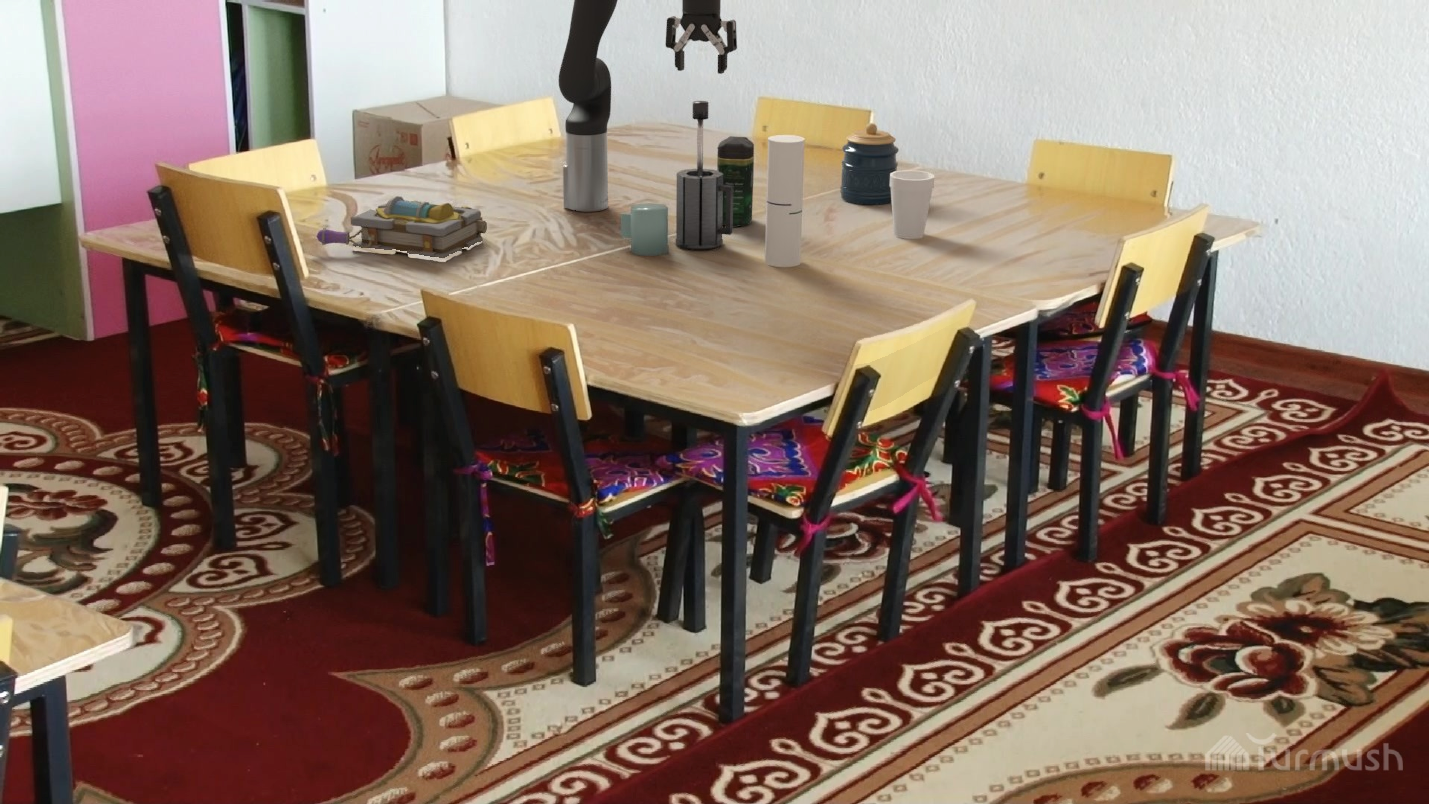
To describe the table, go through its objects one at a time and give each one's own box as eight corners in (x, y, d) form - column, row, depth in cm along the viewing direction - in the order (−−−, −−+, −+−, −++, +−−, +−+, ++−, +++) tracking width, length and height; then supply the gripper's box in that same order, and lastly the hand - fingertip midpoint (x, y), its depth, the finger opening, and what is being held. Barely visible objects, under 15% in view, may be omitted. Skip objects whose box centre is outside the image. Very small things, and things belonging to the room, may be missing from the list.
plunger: (687, 189, 322) (687, 103, 316) (693, 185, 326) (694, 99, 319) (705, 191, 321) (706, 104, 315) (712, 186, 325) (713, 101, 318)
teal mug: (615, 252, 322) (614, 209, 318) (629, 243, 328) (628, 200, 325) (659, 257, 319) (659, 214, 315) (673, 247, 325) (673, 205, 322)
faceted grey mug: (668, 248, 325) (668, 176, 320) (685, 236, 334) (685, 166, 328) (723, 254, 321) (724, 181, 316) (738, 242, 330) (739, 171, 325)
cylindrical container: (763, 257, 319) (766, 134, 310) (798, 257, 320) (802, 134, 311) (767, 267, 313) (770, 142, 304) (802, 266, 313) (807, 142, 304)
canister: (905, 197, 369) (909, 122, 362) (880, 208, 358) (884, 131, 352) (856, 189, 375) (859, 115, 369) (829, 200, 365) (833, 124, 358)
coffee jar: (750, 228, 340) (752, 143, 334) (713, 227, 341) (715, 142, 334) (754, 217, 349) (756, 134, 343) (718, 216, 350) (720, 133, 343)
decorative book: (383, 229, 339) (380, 181, 335) (492, 241, 330) (490, 191, 326) (315, 257, 317) (310, 206, 313) (429, 271, 308) (426, 218, 304)
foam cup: (934, 231, 340) (938, 172, 335) (925, 242, 332) (929, 181, 327) (891, 227, 343) (895, 168, 338) (881, 238, 334) (885, 177, 330)
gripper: (660, -12, 308) (660, 72, 314) (729, -8, 304) (728, 77, 310) (674, -16, 315) (674, 66, 320) (742, -12, 310) (740, 71, 316)
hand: (700, 71), depth 315 cm, fingers open, 8 cm apart
